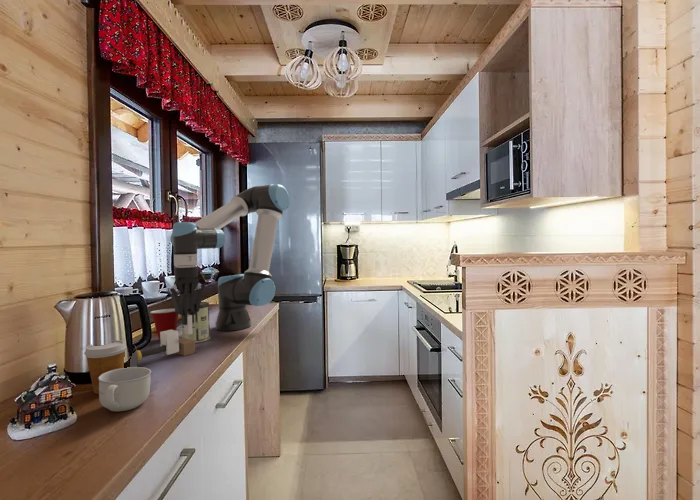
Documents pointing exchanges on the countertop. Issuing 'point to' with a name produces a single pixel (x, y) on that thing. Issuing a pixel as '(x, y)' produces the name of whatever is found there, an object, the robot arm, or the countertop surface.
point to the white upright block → (170, 341)
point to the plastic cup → (164, 320)
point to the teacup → (124, 388)
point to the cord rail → (184, 349)
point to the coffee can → (200, 325)
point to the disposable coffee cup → (104, 360)
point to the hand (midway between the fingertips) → (188, 333)
